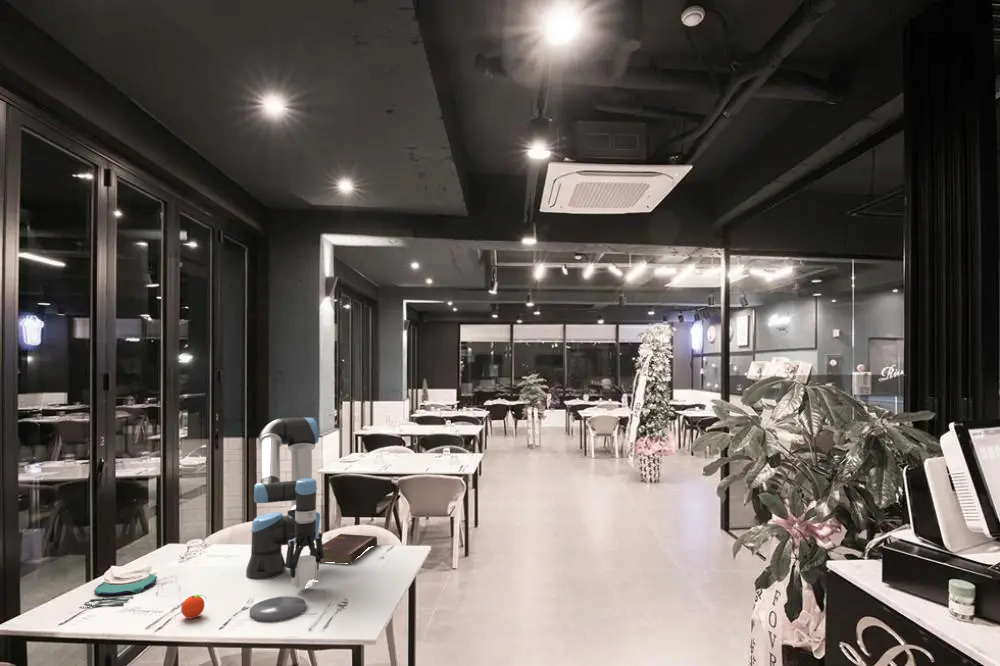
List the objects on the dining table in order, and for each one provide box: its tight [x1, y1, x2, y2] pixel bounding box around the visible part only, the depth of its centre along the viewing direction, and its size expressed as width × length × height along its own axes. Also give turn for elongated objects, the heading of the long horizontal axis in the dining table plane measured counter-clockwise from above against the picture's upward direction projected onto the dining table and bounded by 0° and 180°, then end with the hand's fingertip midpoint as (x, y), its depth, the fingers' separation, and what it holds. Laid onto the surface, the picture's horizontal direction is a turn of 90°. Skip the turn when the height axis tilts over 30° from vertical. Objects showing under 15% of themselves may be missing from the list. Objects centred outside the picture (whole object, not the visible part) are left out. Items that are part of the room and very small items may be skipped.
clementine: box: [180, 594, 207, 619], centre depth 196 cm, size 8×7×7 cm
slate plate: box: [249, 596, 307, 623], centre depth 200 cm, size 18×18×2 cm
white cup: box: [295, 554, 316, 590], centre depth 218 cm, size 8×8×10 cm
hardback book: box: [309, 533, 378, 565], centre depth 264 cm, size 29×19×5 cm, turn 169°
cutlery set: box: [78, 573, 158, 609], centre depth 219 cm, size 20×30×2 cm, turn 7°
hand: (304, 582), depth 218 cm, fingers closed on white cup, 8 cm apart
